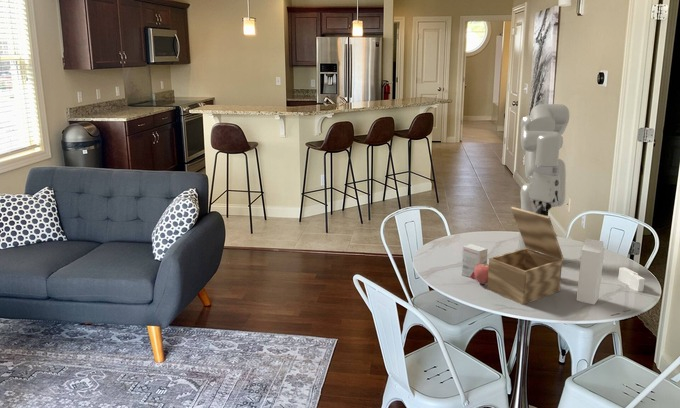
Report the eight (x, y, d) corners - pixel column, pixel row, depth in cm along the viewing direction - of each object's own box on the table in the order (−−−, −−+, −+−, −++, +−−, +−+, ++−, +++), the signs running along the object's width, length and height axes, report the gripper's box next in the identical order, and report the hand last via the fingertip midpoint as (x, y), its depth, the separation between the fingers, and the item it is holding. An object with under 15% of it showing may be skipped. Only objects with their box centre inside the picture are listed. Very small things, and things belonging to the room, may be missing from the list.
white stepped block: (612, 277, 220) (614, 263, 218) (645, 282, 215) (647, 267, 214) (613, 292, 207) (614, 277, 205) (648, 297, 202) (650, 282, 201)
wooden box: (523, 277, 219) (525, 248, 216) (559, 291, 206) (562, 260, 203) (487, 289, 209) (489, 258, 206) (522, 304, 196) (525, 271, 193)
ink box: (487, 277, 219) (489, 248, 216) (478, 281, 216) (480, 251, 213) (469, 271, 226) (470, 243, 223) (460, 274, 223) (462, 245, 220)
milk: (580, 295, 203) (587, 236, 198) (598, 299, 200) (605, 239, 194) (576, 300, 199) (582, 240, 193) (594, 305, 195) (601, 243, 190)
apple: (474, 286, 211) (475, 266, 209) (473, 278, 218) (474, 259, 216) (494, 287, 210) (496, 267, 208) (493, 280, 217) (494, 260, 215)
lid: (525, 247, 216) (536, 236, 218) (562, 259, 203) (573, 247, 205) (510, 208, 206) (522, 196, 209) (548, 218, 193) (559, 205, 196)
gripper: (571, 172, 196) (566, 223, 200) (535, 165, 208) (531, 213, 213) (557, 174, 192) (553, 226, 196) (521, 167, 204) (517, 216, 209)
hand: (541, 219), depth 205 cm, fingers closed
